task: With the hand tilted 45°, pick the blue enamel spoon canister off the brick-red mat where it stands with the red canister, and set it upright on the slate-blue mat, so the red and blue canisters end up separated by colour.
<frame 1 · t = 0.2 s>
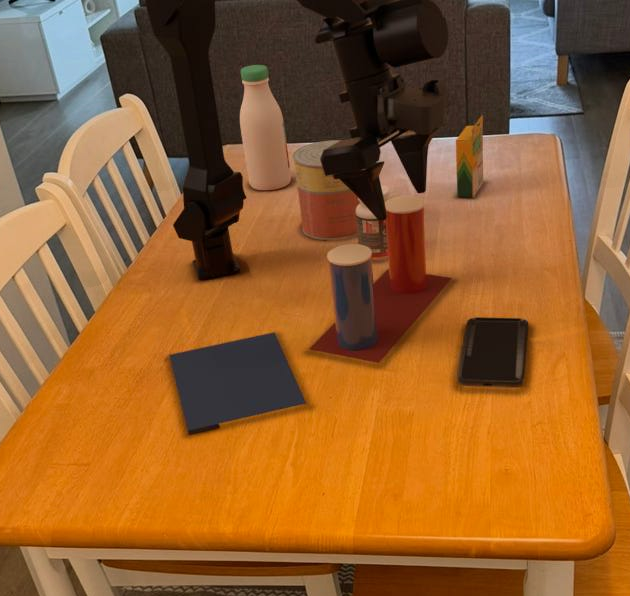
hand: (402, 206, 109), 15 cm above the table, tool pointing down, fingers open, 9 cm apart
pill bottle: (377, 254, 135), on the table
milk bottle: (270, 184, 162), on the table
red canister: (408, 285, 125), point 1 cm above the table, touching red mat
red mat: (384, 315, 120), on the table
crayon box: (470, 191, 152), on the table
canned food: (336, 226, 144), on the table
phone: (493, 357, 109), on the table
blue canister: (357, 340, 114), point 1 cm above the table, touching red mat
blue mat: (235, 381, 109), on the table
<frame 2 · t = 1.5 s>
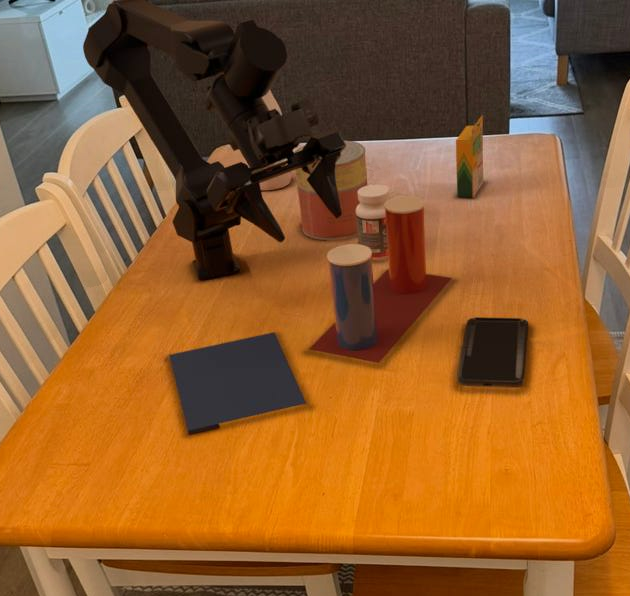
hand: (311, 228, 111), 13 cm above the table, tool tilted 45°, fingers open, 9 cm apart
nothing on the table moved.
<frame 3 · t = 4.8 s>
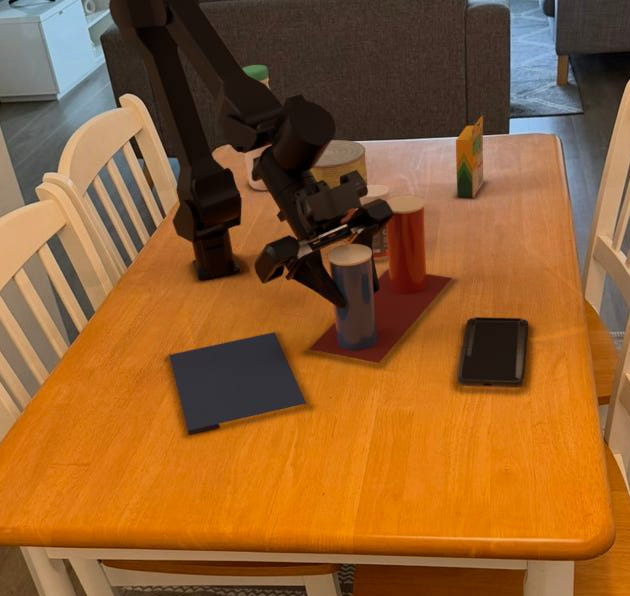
hand: (360, 299, 109), 7 cm above the table, tool tilted 45°, fingers closed on blue canister, 5 cm apart
blue canister: (357, 340, 114), point 1 cm above the table, touching gripper, red mat
everything else where it was.
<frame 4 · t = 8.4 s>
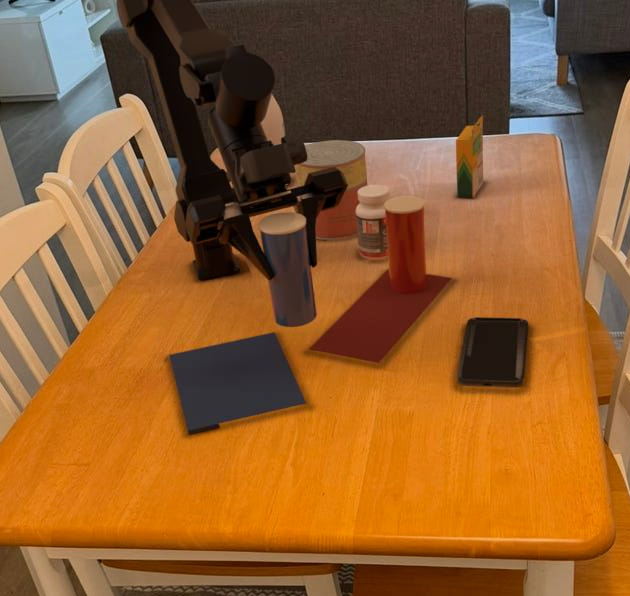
hand: (292, 272, 102), 13 cm above the table, tool tilted 45°, fingers closed on blue canister, 5 cm apart
blue canister: (295, 316, 107), point 7 cm above the table, touching gripper
everything else where it was.
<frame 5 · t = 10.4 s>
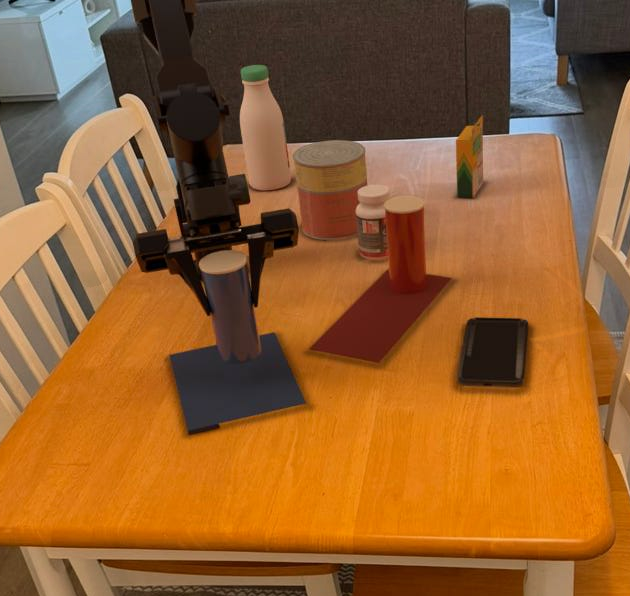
hand: (232, 310, 102), 10 cm above the table, tool tilted 45°, fingers closed on blue canister, 5 cm apart
blue canister: (240, 352, 107), point 4 cm above the table, touching gripper
everything else where it was.
when the fingers open (7 cm above the table, at t = 11.9 s): blue canister stays where it is, resting on blue mat.
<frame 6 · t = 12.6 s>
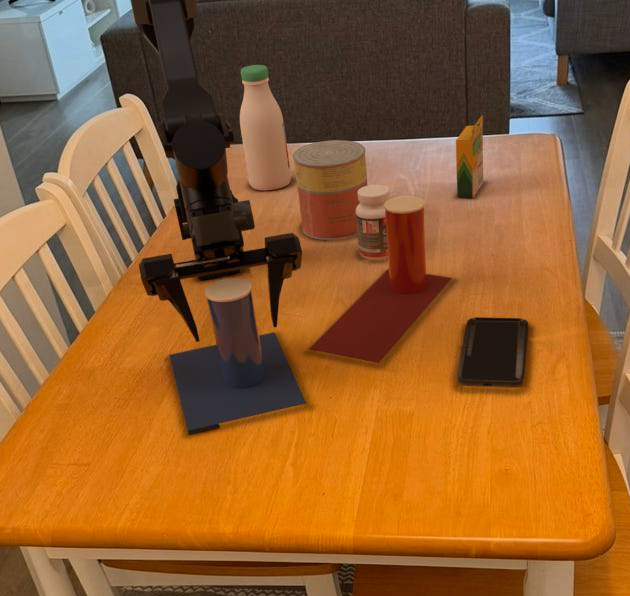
hand: (236, 333, 103), 7 cm above the table, tool tilted 45°, fingers open, 9 cm apart
blue canister: (244, 376, 109), point 1 cm above the table, touching blue mat
everything else where it was.
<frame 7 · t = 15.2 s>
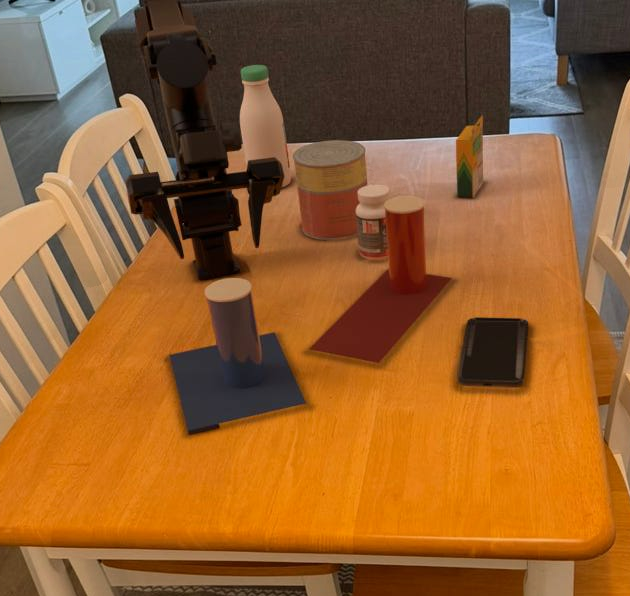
hand: (220, 252, 107), 13 cm above the table, tool tilted 45°, fingers open, 9 cm apart
nothing on the table moved.
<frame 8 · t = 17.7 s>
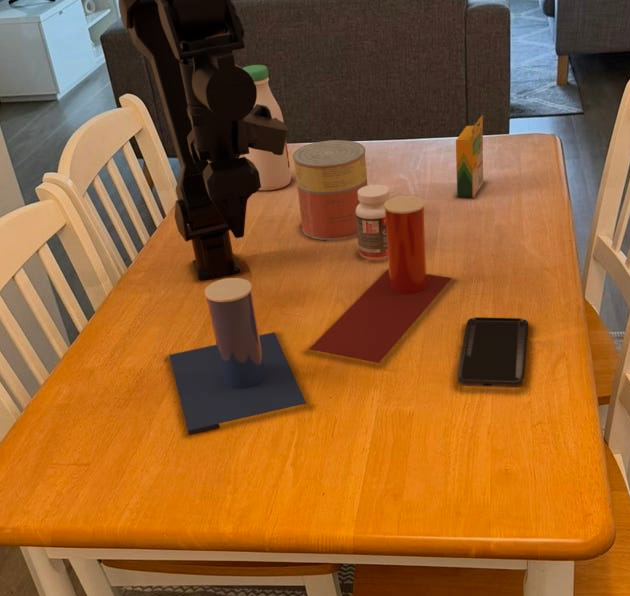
hand: (233, 223, 115), 13 cm above the table, tool pointing down, fingers open, 9 cm apart
nothing on the table moved.
at the end: blue canister inside the target area on the blue mat (1.3 cm from its centre), point 0.6 cm above the blue mat's base; blue canister tilted 0°; red canister moved 0.0 cm from its start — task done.
